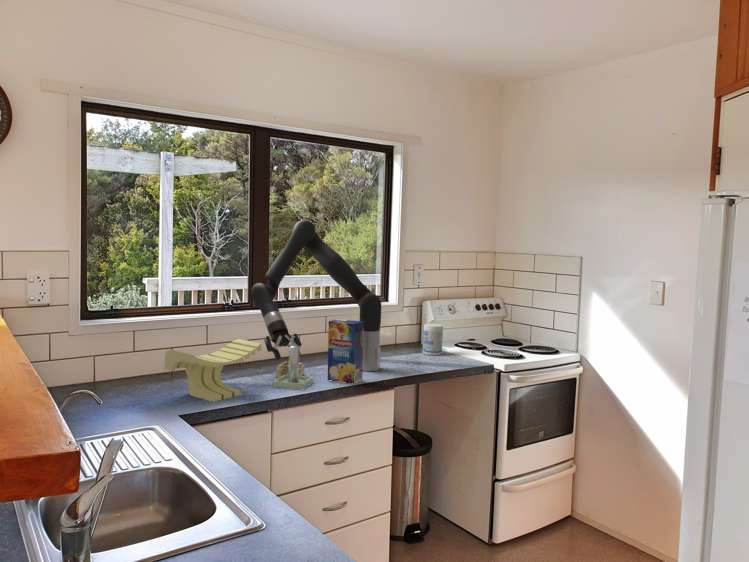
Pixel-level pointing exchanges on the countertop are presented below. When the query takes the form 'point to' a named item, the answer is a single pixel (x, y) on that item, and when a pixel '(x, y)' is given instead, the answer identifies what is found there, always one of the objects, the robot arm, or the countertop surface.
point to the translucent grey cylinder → (293, 364)
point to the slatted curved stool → (211, 368)
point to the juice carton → (345, 350)
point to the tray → (284, 383)
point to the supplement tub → (432, 339)
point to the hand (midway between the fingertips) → (289, 357)
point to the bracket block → (287, 369)
